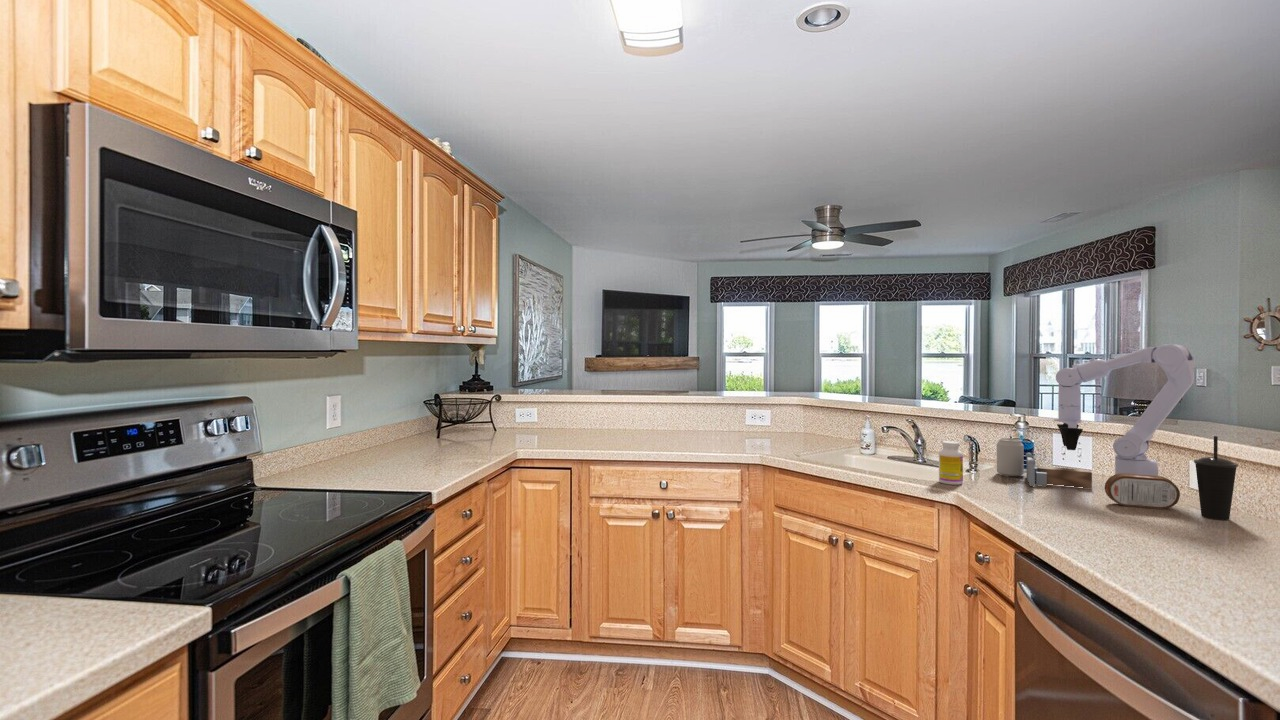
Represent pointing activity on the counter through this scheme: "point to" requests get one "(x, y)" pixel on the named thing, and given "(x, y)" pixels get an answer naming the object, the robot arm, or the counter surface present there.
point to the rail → (1067, 476)
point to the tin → (1142, 491)
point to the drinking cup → (1215, 485)
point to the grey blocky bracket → (1034, 473)
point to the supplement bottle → (950, 463)
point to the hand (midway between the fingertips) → (1069, 448)
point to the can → (1010, 457)
